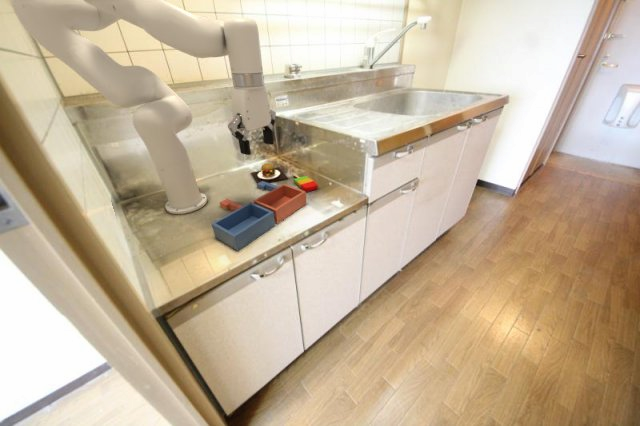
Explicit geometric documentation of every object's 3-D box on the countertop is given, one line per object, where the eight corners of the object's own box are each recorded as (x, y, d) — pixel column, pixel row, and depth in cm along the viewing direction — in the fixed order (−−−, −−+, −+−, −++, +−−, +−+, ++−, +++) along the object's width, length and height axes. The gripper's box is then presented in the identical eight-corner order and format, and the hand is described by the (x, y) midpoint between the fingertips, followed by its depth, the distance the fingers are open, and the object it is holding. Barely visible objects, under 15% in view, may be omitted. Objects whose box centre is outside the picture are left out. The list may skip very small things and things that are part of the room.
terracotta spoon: (220, 206, 83) (219, 200, 82) (228, 202, 85) (226, 197, 84) (240, 216, 78) (239, 210, 77) (247, 211, 80) (246, 206, 79)
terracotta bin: (255, 213, 79) (252, 200, 77) (285, 195, 88) (283, 183, 86) (277, 223, 75) (275, 210, 72) (306, 204, 84) (305, 191, 81)
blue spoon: (257, 187, 94) (256, 182, 93) (263, 184, 96) (262, 179, 95) (276, 195, 89) (276, 189, 88) (282, 191, 91) (282, 186, 90)
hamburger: (278, 168, 109) (277, 156, 106) (288, 179, 100) (286, 166, 97) (251, 173, 105) (248, 161, 101) (258, 185, 95) (255, 172, 92)
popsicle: (305, 192, 90) (305, 188, 89) (287, 177, 101) (287, 173, 100) (319, 188, 92) (318, 184, 91) (300, 174, 103) (299, 170, 102)
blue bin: (215, 237, 70) (210, 223, 67) (253, 214, 79) (250, 201, 76) (237, 251, 65) (234, 236, 62) (275, 225, 74) (273, 211, 71)
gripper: (260, 77, 70) (267, 138, 80) (209, 84, 58) (225, 156, 67) (281, 78, 67) (286, 142, 77) (233, 86, 55) (246, 161, 64)
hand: (258, 148), depth 72 cm, fingers open, 9 cm apart
